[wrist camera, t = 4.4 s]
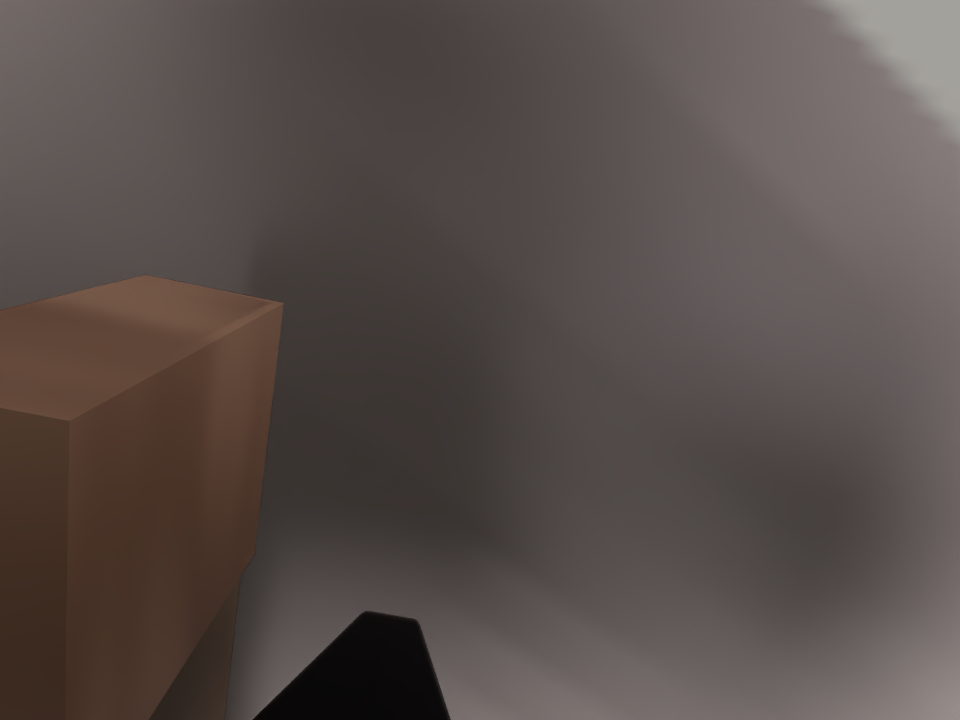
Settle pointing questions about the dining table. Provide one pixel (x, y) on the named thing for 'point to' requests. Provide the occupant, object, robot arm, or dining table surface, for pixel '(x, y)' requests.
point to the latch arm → (129, 496)
